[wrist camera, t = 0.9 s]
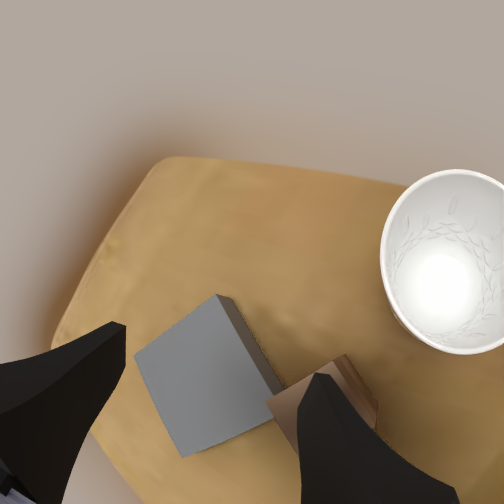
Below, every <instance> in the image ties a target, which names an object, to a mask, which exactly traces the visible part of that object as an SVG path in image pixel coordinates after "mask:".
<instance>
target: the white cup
mask: <svg viewBox="0 0 504 504" xmlns="http://www.w3.org/2000/svg"><path fill="white" fill-rule="evenodd" d="M380 267H381V274H382V280H383V284H384V288H385V292H386V296H387V300H388V303H389V306H390V308H391V310H392V312H393V314H394V316H395V318H396V319H397V321H398V322H399V323H400V325H401V326H402V327H403V328H404V329H405V330H406V331H407V332H408V333H410V334H411V335H412V336H413V337H415V338H416V339H418V340H420V341H422V342H424V343H426V344H428V345H430V346H432V347H434V348H436V349H438V350H441V351H444V352H448V353H452V354H461V355H469V354H478V353H482V352H486V351H489V350H491V349H494V348H496V347H498V346H500V345H501V344H503V343H504V185H503V184H501V183H500V182H498V181H496V180H495V179H493V178H491V177H489V176H487V175H484V174H481V173H478V172H475V171H470V170H462V169H452V170H444V171H439V172H436V173H433V174H430V175H428V176H426V177H424V178H422V179H420V180H419V181H417V182H416V183H414V184H413V185H411V186H410V187H409V188H408V189H407V190H406V191H405V192H404V193H403V194H402V195H401V196H400V198H399V199H398V200H397V202H396V203H395V205H394V206H393V208H392V210H391V211H390V213H389V216H388V218H387V220H386V223H385V226H384V230H383V234H382V238H381V246H380Z"/></svg>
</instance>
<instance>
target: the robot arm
mask: <svg viewBox="0 0 504 504" xmlns="http://www.w3.org/2000/svg"><path fill="white" fill-rule="evenodd" d="M125 366H126V326H125V325H122V324H119V323H116V322H113V321H111V322H109V323H107V324H105V325H103V326H101V327H99V328H97V329H95V330H94V331H92V332H90V333H88V334H86V335H84V336H82V337H80V338H78V339H76V340H74V341H72V342H69V343H67V344H65V345H62V346H60V347H58V348H55V349H53V350H51V351H48V352H45V353H43V354H40V355H36V356H33V357H30V358H27V359H22V360H18V361H14V362H8V363H3V364H0V504H61V503H62V500H63V496H64V493H65V489H66V486H67V483H68V480H69V477H70V474H71V471H72V468H73V466H74V463H75V461H76V458H77V455H78V453H79V451H80V448H81V446H82V444H83V442H84V439H85V437H86V435H87V433H88V431H89V429H90V427H91V426H92V424H93V422H94V421H95V419H96V418H97V416H98V415H99V413H100V411H101V410H102V408H103V407H104V405H105V403H106V402H107V400H108V399H109V397H110V396H111V394H112V392H113V391H114V389H115V388H116V386H117V384H118V382H119V379H120V377H121V375H122V373H123V371H124V368H125ZM297 440H298V450H299V460H300V469H301V483H302V491H301V504H460V502H459V499H458V497H457V494H456V492H455V489H454V488H453V487H451V486H449V485H447V484H445V483H443V482H441V481H438V480H436V479H434V478H432V477H431V476H429V475H427V474H426V473H424V472H422V471H421V470H419V469H417V468H416V467H414V466H413V465H412V464H410V463H409V462H407V461H406V460H405V459H404V458H402V457H401V456H400V455H398V454H397V453H396V452H395V451H394V450H392V449H391V448H390V447H389V446H388V445H387V444H386V443H385V442H384V441H383V440H382V439H381V438H380V437H379V436H378V435H377V434H376V433H375V432H374V431H373V430H372V429H371V428H370V427H369V425H368V424H367V423H366V422H365V421H364V420H363V418H362V417H361V416H360V415H359V413H358V412H357V411H356V410H355V408H354V407H353V406H352V404H351V403H350V402H349V400H348V399H347V397H346V396H345V395H344V393H343V392H342V390H341V389H340V388H339V386H338V385H337V383H336V382H335V381H334V379H333V378H332V377H331V375H330V374H324V373H317V372H315V373H314V375H313V377H312V379H311V381H310V383H309V386H308V388H307V390H306V392H305V394H304V396H303V398H302V400H301V402H300V404H299V406H298V408H297Z"/></svg>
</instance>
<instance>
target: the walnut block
mask: <svg viewBox="0 0 504 504" xmlns="http://www.w3.org/2000/svg"><path fill="white" fill-rule="evenodd" d="M315 372H317V373H324V374H330V375H331V377H332V378H333V379H334V381H335V382H336V383H337V385H338V386H339V388H340V389H341V390H342V392H343V393H344V395H345V396H346V397H347V399H348V400H349V402H350V403H351V404H352V406H353V407H354V408H355V410H356V411H357V412H358V413H359V415H360V416H361V417H362V418H363V420H364V421H365V422H366V423H367V424H368V425H369V427H370V428H371V429H373V428H375V424H376V416H377V406H378V404H377V402H376V400H375V399H374V397H373V396H372V394H371V393H370V391H369V390H368V388H367V386H366V385H365V383H364V382H363V380H362V379H361V377H360V376H359V374H358V372H357V371H356V369H355V368H354V366H353V365H352V363H351V362H350V360H349V359H348V357H347V356H346V354H345V355H343V356H341V357H339V358H336V359H334V360H332V361H331V362H329V363H328V364H326V365H325V366H323V367H321V368H320V369H318V370H317V371H315ZM315 372H314V373H315ZM314 373H312V374H310V375H309V376H307V377H306V378H304V379H302V380H301V381H299V382H297V383H296V384H294V385H292V386H291V387H289V388H287V389H285V390H284V391H282V392H280V393H278V394H277V395H275V396H273V397H271V398H270V399H268V400H266V401H265V403H266V405H267V406H268V408H269V410H270V411H271V413H272V415H273V416H274V418H275V420H276V421H277V423H278V425H279V426H280V428H281V429H282V431H283V433H284V434H285V436H286V438H287V439H288V441H289V442H290V444H291V445H292V447H293V449H294V450H295V452H296V453H297V455H298V456H299V450H298V440H297V408H298V406H299V404H300V402H301V400H302V398H303V396H304V394H305V392H306V390H307V388H308V386H309V383H310V381H311V379H312V377H313V375H314Z"/></svg>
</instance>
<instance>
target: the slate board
mask: <svg viewBox="0 0 504 504" xmlns="http://www.w3.org/2000/svg"><path fill="white" fill-rule="evenodd" d="M134 358H135V361H136V363H137V366H138V368H139V371H140V373H141V375H142V378H143V380H144V382H145V385H146V387H147V389H148V391H149V394H150V396H151V398H152V400H153V402H154V405H155V407H156V409H157V411H158V413H159V415H160V417H161V419H162V421H163V423H164V425H165V427H166V429H167V431H168V433H169V435H170V437H171V439H172V441H173V443H174V444H175V446H176V448H177V450H178V452H179V454H180V455H181V457H182V458H184V457H187V456H189V455H192V454H194V453H197V452H199V451H202V450H204V449H207V448H209V447H212V446H214V445H217V444H219V443H221V442H224V441H226V440H228V439H230V438H233V437H235V436H237V435H239V434H241V433H244V432H246V431H248V430H250V429H252V428H254V427H256V426H258V425H260V424H262V423H264V422H266V421H268V420H270V419H272V418H274V416H273V415H272V413H271V411H270V410H269V408H268V406H267V405H266V403H265V401H266V400H268V399H270V398H271V397H273V396H275V395H277V394H278V393H280V392H282V391H284V390H285V389H284V388H283V386H282V384H281V383H280V381H279V379H278V378H277V376H276V375H275V373H274V371H273V370H272V368H271V366H270V364H269V363H268V361H267V359H266V358H265V356H264V354H263V353H262V351H261V349H260V348H259V346H258V344H257V342H256V341H255V339H254V337H253V336H252V334H251V332H250V330H249V329H248V327H247V325H246V323H245V322H244V320H243V318H242V316H241V315H240V313H239V311H238V309H237V308H236V306H235V304H234V302H233V301H232V299H231V298H228V297H225V296H221V295H218V294H215V295H214V296H212V297H211V298H210V299H208V300H207V301H206V302H204V303H203V304H202V305H200V306H199V307H198V308H196V309H195V310H194V311H192V312H191V313H190V314H188V315H187V316H186V317H184V318H183V319H182V320H180V321H179V322H178V323H176V324H175V325H174V326H172V327H171V328H170V329H168V330H167V331H166V332H164V333H163V334H162V335H160V336H159V337H158V338H156V339H155V340H154V341H152V342H151V343H150V344H148V345H147V346H146V347H144V348H143V349H142V350H140V351H139V352H138V353H136V354H135V355H134Z"/></svg>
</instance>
